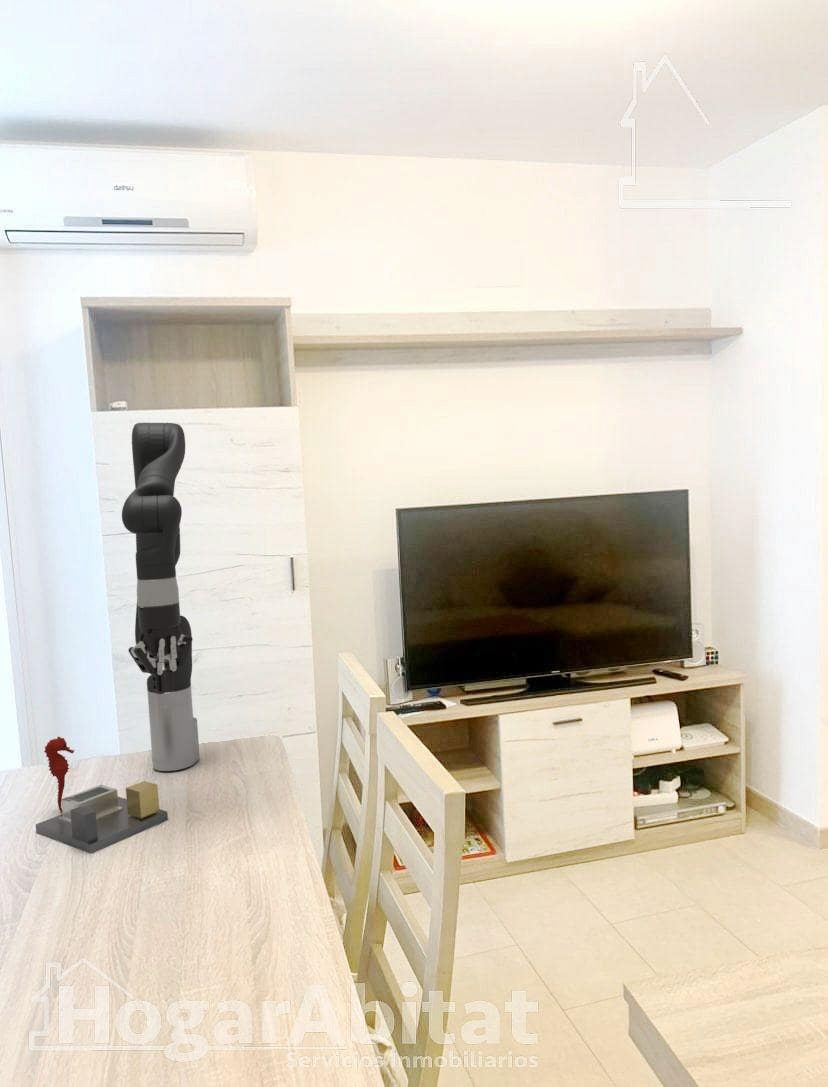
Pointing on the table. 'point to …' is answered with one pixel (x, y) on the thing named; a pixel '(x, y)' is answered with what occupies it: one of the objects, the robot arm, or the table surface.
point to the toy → (58, 763)
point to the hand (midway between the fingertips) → (164, 691)
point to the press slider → (142, 799)
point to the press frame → (96, 820)
